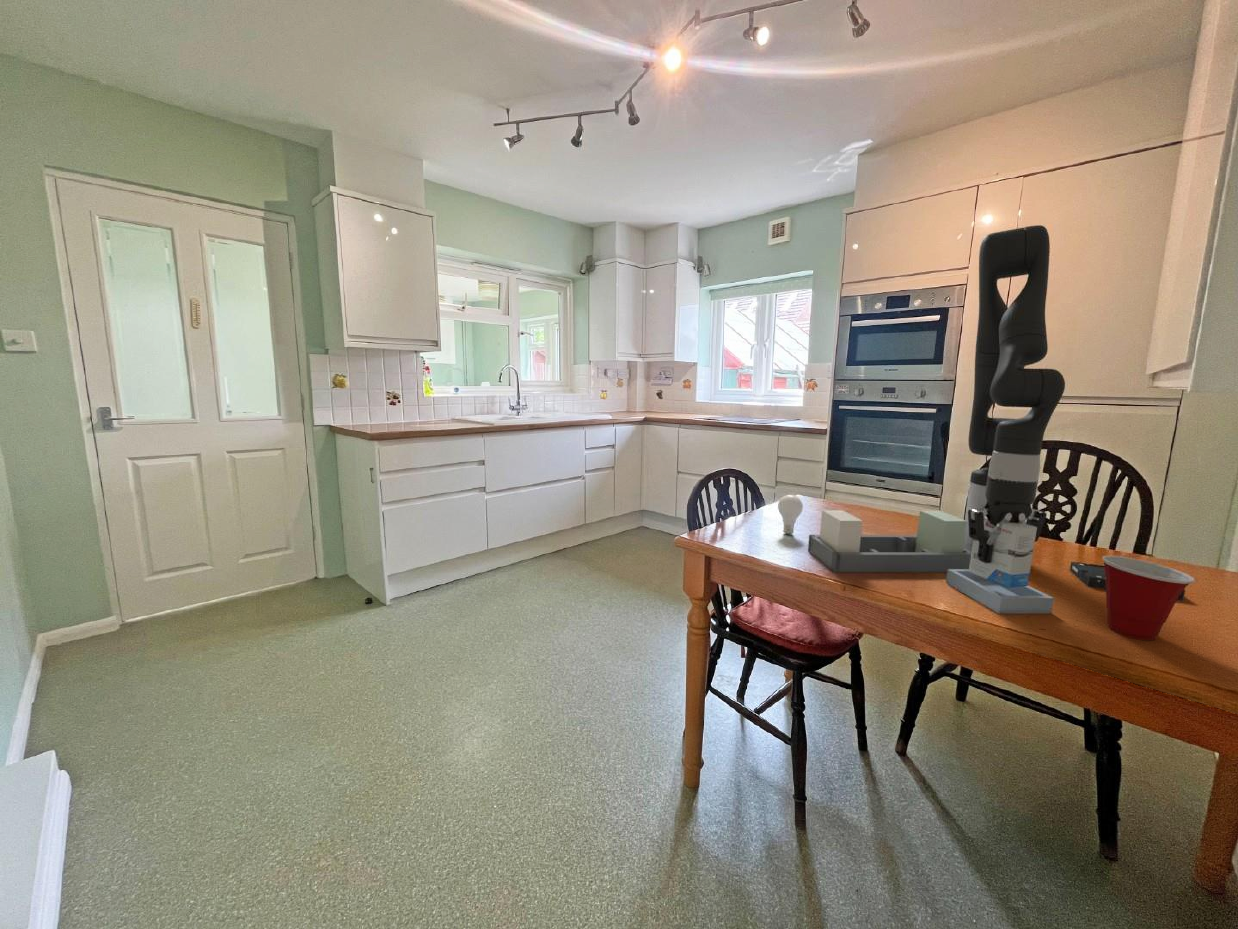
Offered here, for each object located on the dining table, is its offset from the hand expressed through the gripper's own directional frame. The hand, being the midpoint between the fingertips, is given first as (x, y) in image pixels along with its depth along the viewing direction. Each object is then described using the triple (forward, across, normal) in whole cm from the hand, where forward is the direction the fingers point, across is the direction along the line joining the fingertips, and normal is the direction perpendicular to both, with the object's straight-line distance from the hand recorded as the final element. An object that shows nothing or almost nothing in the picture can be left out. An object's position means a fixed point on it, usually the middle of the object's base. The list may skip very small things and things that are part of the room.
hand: (999, 561), depth 97 cm
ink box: (+4, 0, 0) cm, 4 cm away
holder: (+7, +10, -20) cm, 23 cm away
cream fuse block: (+7, +22, -20) cm, 30 cm away
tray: (+7, 0, 0) cm, 7 cm away
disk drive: (+8, -33, -6) cm, 35 cm away
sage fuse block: (+7, -2, -20) cm, 21 cm away
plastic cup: (+8, -13, +14) cm, 21 cm away
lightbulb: (+7, +26, -40) cm, 48 cm away
